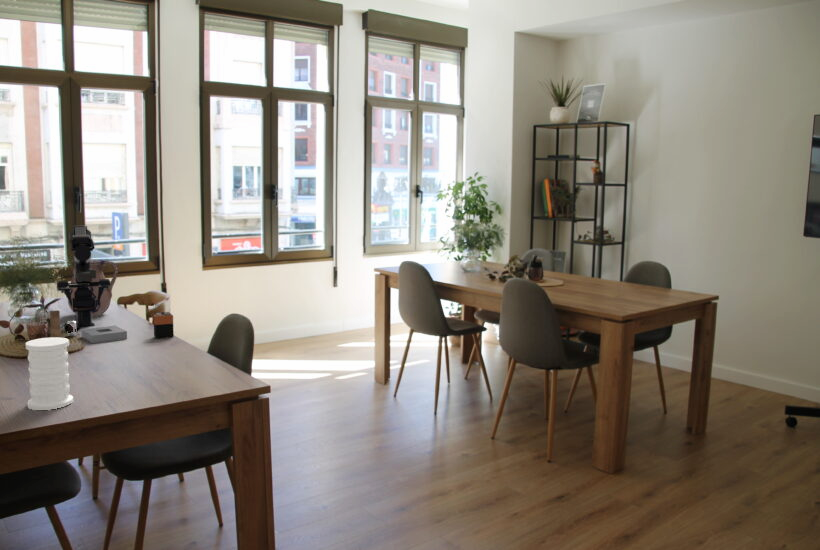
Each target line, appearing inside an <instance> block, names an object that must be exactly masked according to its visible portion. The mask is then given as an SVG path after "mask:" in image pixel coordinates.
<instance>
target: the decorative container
mask: <svg viewBox="0 0 820 550" xmlns="http://www.w3.org/2000/svg"><path fill="white" fill-rule="evenodd" d="M69 346H70V339H68V337H67V338H65V337H61V338H60V337H51V336H50V337H41V338H40V337H39V338H35V339H31V340H28V341H26V342H25V349H26V350H27V351H28V354H27V361H28V362H29V365H28V368H27V369H28V372H29V378H28V381H29V382H28V383H29V384H30V387H29V394H30V397H31V398H30V399H29V400H28V401H27V404H26V405H27V408H28V409H29V410H31V409H32V411H36V410H48V411H52V410H51V409H56V410H58V409H57V408H61V407H64V406H66V405H69V404H70V403H72V402H73V403H74V396H73V395H72V394H70V389H71V386H70V383H69V380H70V374H69V367H70V364H69V362H68V358H69V352H68V348H67V347H69ZM73 403H72V404H73ZM69 406H70V405H69ZM64 408H65V407H64ZM61 409H62V408H61Z"/></svg>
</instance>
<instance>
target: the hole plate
mask: <svg viewBox="0 0 820 550" xmlns="http://www.w3.org/2000/svg"><path fill="white" fill-rule="evenodd" d="M81 338H83V339H84V340H86V341H87V342H89V343H91V344H99V343H105V342H112V341H114V342H115V341H120V340H127V339H128V331H127V330H125V329H123V328H121V327H120V326H117V325H107V326H101V327H92V328H91V327H90V328H83V329H81Z"/></svg>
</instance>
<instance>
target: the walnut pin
mask: <svg viewBox="0 0 820 550" xmlns="http://www.w3.org/2000/svg"><path fill="white" fill-rule="evenodd" d="M60 314H61V313H60V310H50V311H49V321H50V338H51V337H60V338H62V336H61V335H62V334H61V317H60Z"/></svg>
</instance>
